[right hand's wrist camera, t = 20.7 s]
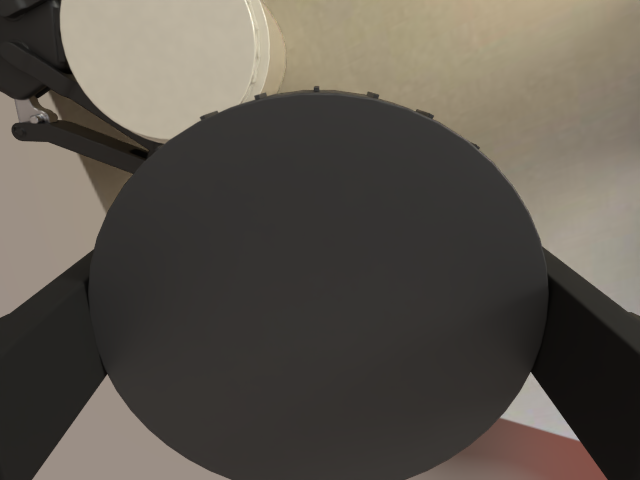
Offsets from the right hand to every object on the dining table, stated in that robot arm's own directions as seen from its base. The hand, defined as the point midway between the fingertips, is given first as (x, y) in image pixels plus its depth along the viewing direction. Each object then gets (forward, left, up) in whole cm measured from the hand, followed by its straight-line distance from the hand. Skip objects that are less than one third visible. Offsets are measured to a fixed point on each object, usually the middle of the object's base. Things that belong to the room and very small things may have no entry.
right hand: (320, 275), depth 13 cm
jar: (-5, -9, -25) cm, 27 cm away
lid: (0, 0, +3) cm, 3 cm away
